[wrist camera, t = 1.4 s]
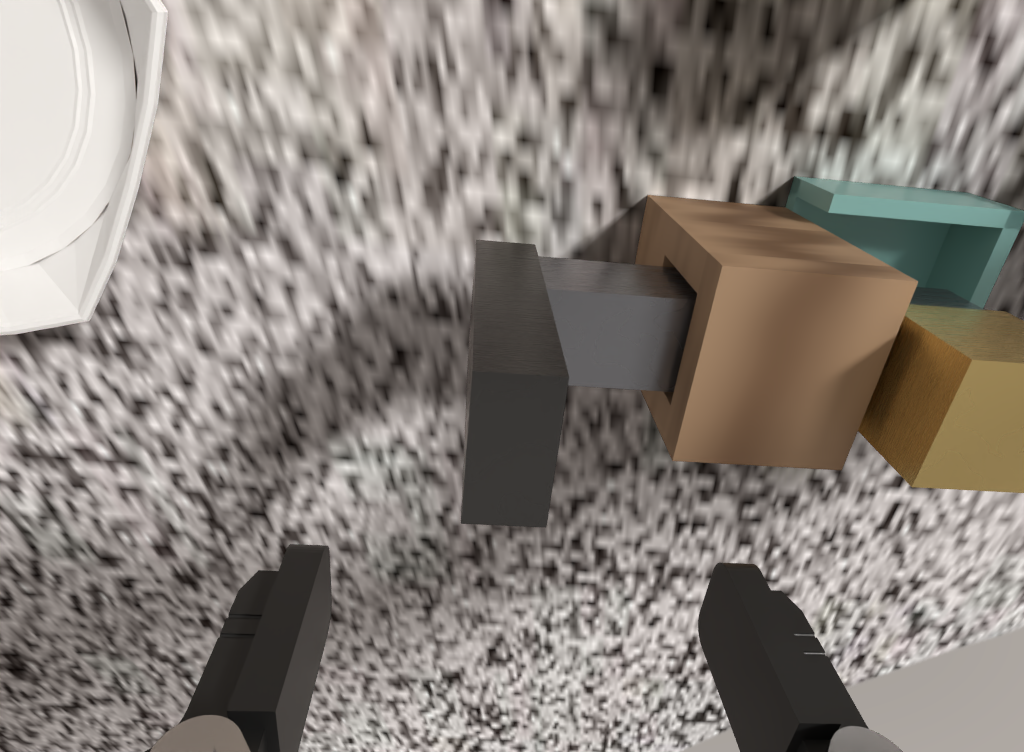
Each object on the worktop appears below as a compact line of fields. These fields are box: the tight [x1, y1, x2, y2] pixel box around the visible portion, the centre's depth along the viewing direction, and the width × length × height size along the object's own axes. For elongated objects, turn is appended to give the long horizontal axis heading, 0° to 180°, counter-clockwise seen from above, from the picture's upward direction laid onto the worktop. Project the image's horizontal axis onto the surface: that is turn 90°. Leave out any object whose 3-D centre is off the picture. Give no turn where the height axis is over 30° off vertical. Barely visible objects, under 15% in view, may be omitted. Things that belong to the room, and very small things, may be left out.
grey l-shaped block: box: [461, 240, 984, 527], centre depth 24 cm, size 21×5×12 cm, turn 85°
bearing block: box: [635, 195, 918, 470], centre depth 29 cm, size 7×8×11 cm
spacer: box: [858, 304, 1024, 493], centre depth 24 cm, size 5×5×5 cm
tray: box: [786, 176, 1024, 309], centre depth 32 cm, size 9×11×4 cm
